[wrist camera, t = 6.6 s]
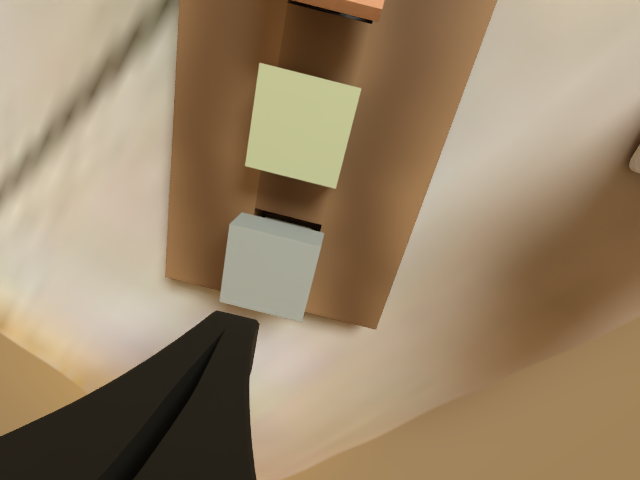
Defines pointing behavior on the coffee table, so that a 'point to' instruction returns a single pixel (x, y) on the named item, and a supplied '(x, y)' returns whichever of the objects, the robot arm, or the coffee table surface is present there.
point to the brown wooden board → (362, 148)
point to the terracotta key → (351, 7)
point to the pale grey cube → (269, 265)
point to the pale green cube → (300, 125)
